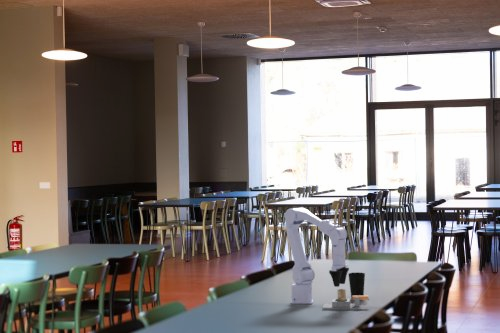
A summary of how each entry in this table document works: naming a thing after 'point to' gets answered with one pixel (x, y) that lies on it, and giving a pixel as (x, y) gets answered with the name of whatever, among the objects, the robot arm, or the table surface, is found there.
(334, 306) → the dock
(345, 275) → the robot arm
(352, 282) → the cup
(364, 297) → the pin
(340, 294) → the peg
